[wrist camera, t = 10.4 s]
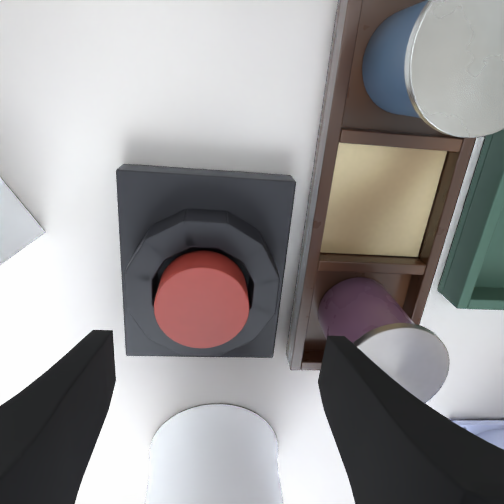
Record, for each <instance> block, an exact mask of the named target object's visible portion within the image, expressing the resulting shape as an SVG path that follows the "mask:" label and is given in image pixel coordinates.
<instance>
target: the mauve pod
mask: <svg viewBox="0 0 504 504" xmlns="http://www.w3.org/2000/svg"><path fill="white" fill-rule="evenodd" d="M318 320H319V323H320V326H321V328H322V330H323V333H324V335H325V337H326V340H327V336H345V337H346V338H347V339H349V340H350V341H351V342H352V343H353V344H354V345H355V346H357V347H358V348H359V349H360V350H361V351H362V352H363V353H364V354H365V355H366V356H367V357H369V358H370V359H371V360H372V361H373V362H374V363H375V364H376V365H377V366H379V367H380V368H381V369H382V370H383V371H384V372H385V373H387V374H388V375H389V376H390V377H391V378H392V379H394V380H395V381H396V382H397V383H399V384H400V385H401V386H402V387H404V388H405V389H406V390H407V391H409V392H410V393H411V394H413V395H414V396H415V397H417V398H418V399H419V400H421V401H422V402H424V403H426V402H427V401H429V400H430V399H431V398H432V397H433V396H434V395H435V394H436V393H437V392H438V391H439V389H440V388H441V387H442V385H443V383H444V382H445V379H446V377H447V374H448V371H449V355H448V351H447V349H446V347H445V345H444V344H443V342H442V341H441V340H440V339H439V338H438V337H437V336H436V334H434V333H433V332H432V331H430V330H429V329H427V328H425V327H422V326H420V325H416V324H415V323H414V322H413V321H412V320H411V319H410V317H409V316H408V315H407V314H406V313H405V311H404V310H403V309H402V308H401V307H400V305H399V304H398V303H397V302H396V301H395V299H394V298H393V297H392V296H391V295H390V293H389V292H388V291H387V290H386V289H385V287H384V286H383V285H381V284H380V283H379V282H377V281H375V280H373V279H369V278H363V277H356V278H350V279H346V280H344V281H341V282H339V283H337V284H336V285H334V286H333V287H332V288H331V289H329V290H328V292H327V293H326V294H325V295H324V297H323V298H322V300H321V302H320V305H319V309H318Z"/></svg>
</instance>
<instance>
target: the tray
mask: <svg viewBox="0 0 504 504" xmlns="http://www.w3.org/2000/svg"><path fill="white" fill-rule="evenodd" d="M438 291H439V292H440V293H441V294H443V296H444V297H445V298H446V299H447V300H449V301H450V302H451V303H452V304H453V305H454V306H455V307H456V308H461V309H466V308H467V309H489V310H504V129H503V130H501V131H498V132H496V133H493V134H490V135H487V136H486V138H485V141H484V144H483V147H482V150H481V154H480V157H479V160H478V163H477V166H476V169H475V173H474V176H473V179H472V182H471V185H470V189H469V192H468V195H467V198H466V201H465V204H464V208H463V211H462V214H461V217H460V220H459V224H458V227H457V230H456V233H455V236H454V239H453V243H452V246H451V249H450V252H449V255H448V259H447V262H446V265H445V268H444V271H443V274H442V278H441V281H440V284H439V287H438Z"/></svg>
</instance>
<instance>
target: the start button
mask: <svg viewBox="0 0 504 504" xmlns="http://www.w3.org/2000/svg"><path fill="white" fill-rule="evenodd" d="M154 314H155V318H156V321H157V323H158V325H159V327H160V328H161V330H162V331H163V332H164V333H165V334H166V335H167V336H168V337H169V338H171V339H172V340H173V341H175V342H177V343H179V344H182V345H184V346H188V347H192V348H211V347H215V346H219V345H222V344H224V343H226V342H228V341H230V340H231V339H233V338H234V337H235V336H236V335H237V334H238V333H239V332H240V331H241V330H242V328H243V327H244V325H245V323H246V321H247V319H248V315H249V299H248V292H247V286H246V280H245V277H244V275H243V273H242V271H241V269H240V268H239V267H238V265H237V264H236V263H235V262H233V261H232V260H231V259H229V258H228V257H226V256H224V255H222V254H220V253H217V252H213V251H193V252H189V253H186V254H183V255H181V256H179V257H178V258H176V259H175V260H173V261H172V262H171V263H170V264H169V265H168V266H167V268H166V269H165V270H164V272H163V274H162V276H161V279H160V283H159V286H158V290H157V293H156V297H155V301H154Z"/></svg>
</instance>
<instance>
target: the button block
mask: <svg viewBox="0 0 504 504" xmlns="http://www.w3.org/2000/svg"><path fill="white" fill-rule="evenodd" d="M116 179H117V198H118V216H119V234H120V253H121V271H122V290H123V308H124V327H125V345H126V355H127V356H184V357H258V358H272V357H273V353H274V345H275V338H276V330H277V322H278V315H279V307H280V300H281V292H282V284H283V277H284V269H285V262H286V254H287V247H288V239H289V231H290V224H291V216H292V209H293V201H294V194H295V186H296V182H295V180H294V179H293V178H292V177H291V176H290V175H279V174H264V173H249V172H235V171H220V170H205V169H190V168H176V167H161V166H146V165H132V164H123V165H122V166H120V167H119V168H118V169H117V170H116ZM193 251H213V252H217V253H220V254H222V255H224V256H226V257H228V258H229V259H231V260H232V261H233V262H235V263H236V264H237V265H238V267H239V268H240V269H241V271H242V273H243V275H244V277H245V280H246V286H247V292H248V299H249V315H248V319H247V321H246V323H245V325H244V327H243V328H242V330H241V331H240V332H239V333H238V334H237V335H236V336H235V337H234V338H233V339H231V340H230V341H228V342H226V343H224V344H222V345H219V346H215V347H211V348H192V347H188V346H184V345H182V344H179V343H177V342H175V341H173V340H172V339H171V338H169V337H168V336H167V335H166V334H165V333H164V332H163V331H162V330H161V328H160V327H159V325H158V323H157V321H156V318H155V314H154V301H155V297H156V293H157V290H158V286H159V283H160V279H161V276H162V274H163V272H164V270H165V269H166V268H167V266H168V265H169V264H170V263H171V262H172V261H173V260H175V259H176V258H178V257H179V256H181V255H183V254H186V253H189V252H193Z"/></svg>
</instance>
